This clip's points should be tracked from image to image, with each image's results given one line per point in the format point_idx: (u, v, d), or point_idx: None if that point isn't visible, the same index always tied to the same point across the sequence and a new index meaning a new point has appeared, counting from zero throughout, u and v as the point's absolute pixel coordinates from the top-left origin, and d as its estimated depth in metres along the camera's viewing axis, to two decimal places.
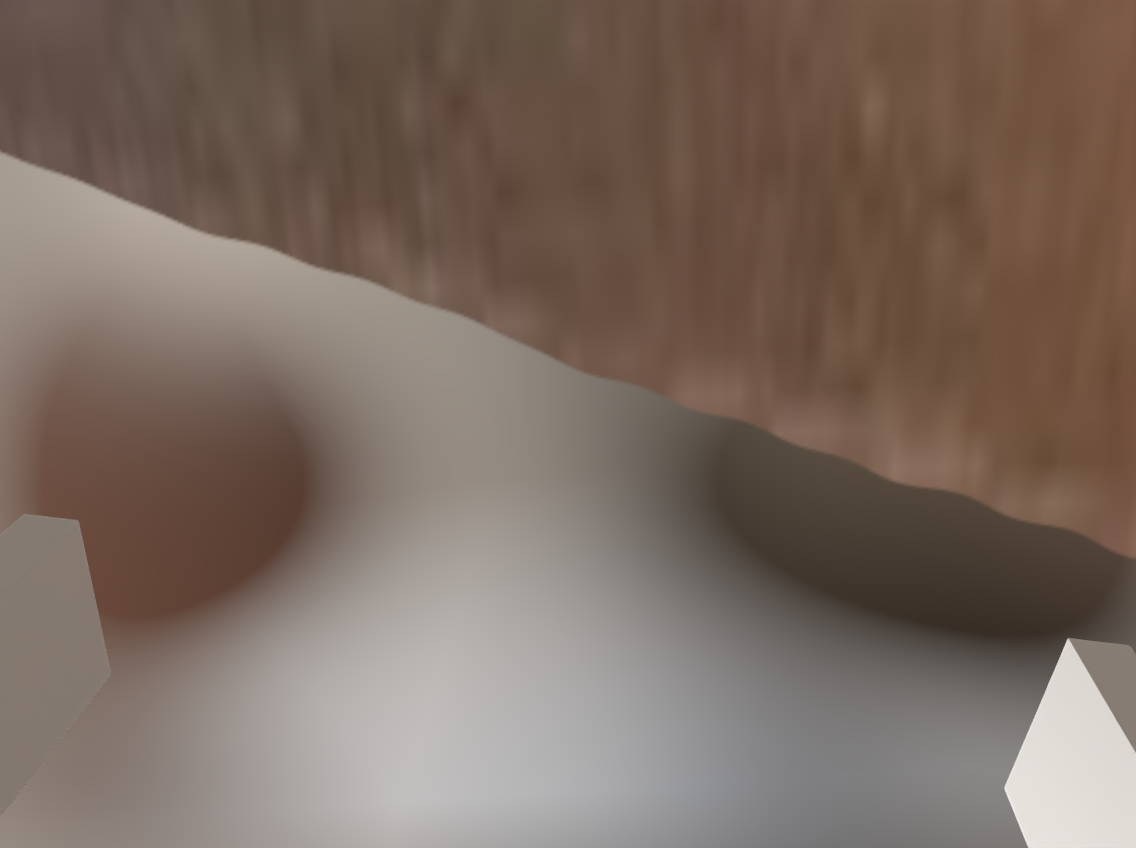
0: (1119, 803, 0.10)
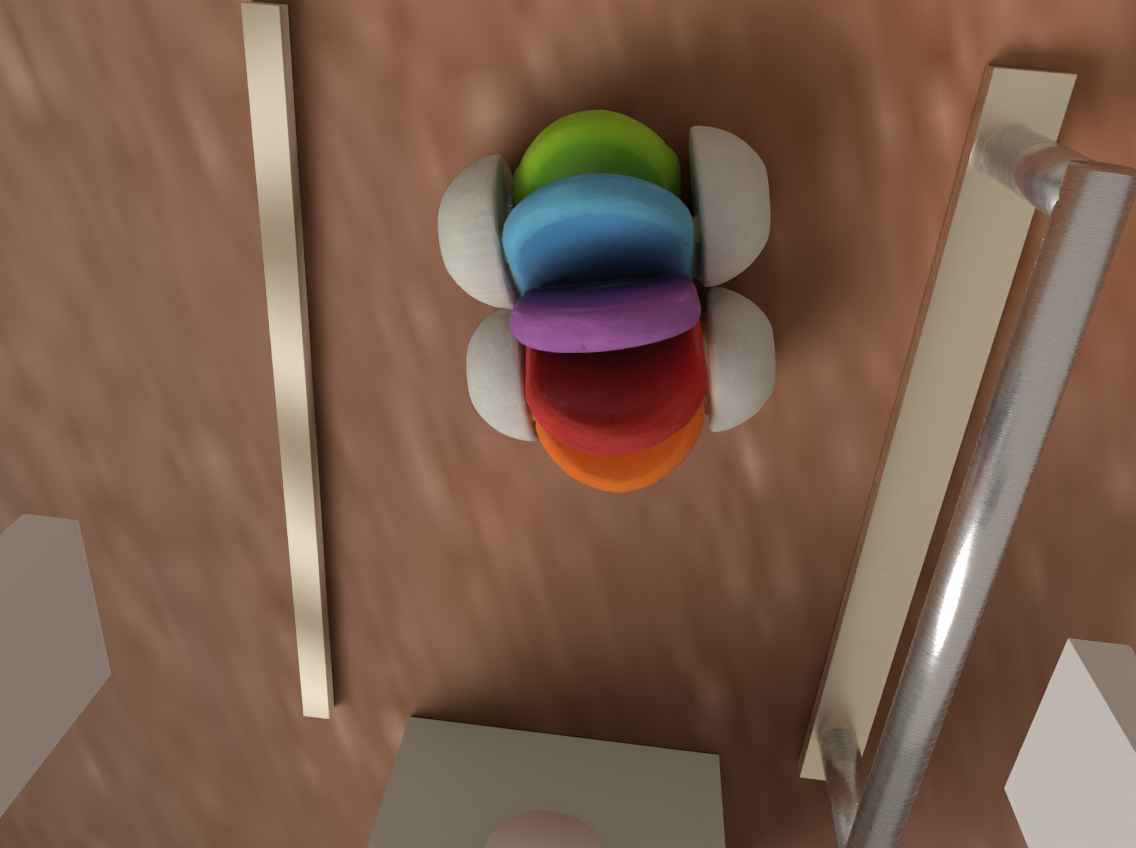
0: (1119, 803, 0.10)
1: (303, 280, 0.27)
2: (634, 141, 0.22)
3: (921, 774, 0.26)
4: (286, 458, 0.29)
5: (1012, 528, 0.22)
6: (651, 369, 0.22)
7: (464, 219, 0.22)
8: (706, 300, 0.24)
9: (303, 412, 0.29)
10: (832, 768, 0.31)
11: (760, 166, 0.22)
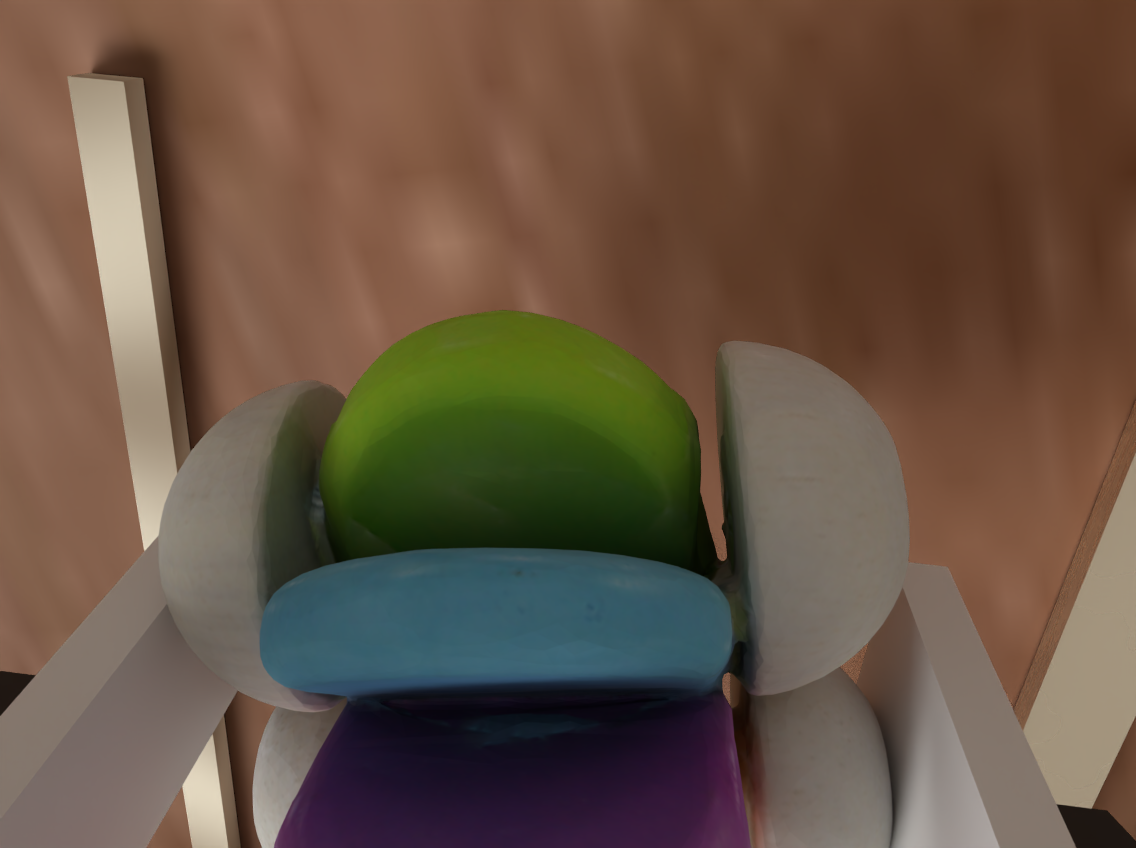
0: (915, 697, 0.11)
1: None
2: (591, 402, 0.09)
3: None
4: None
5: None
6: None
7: (192, 564, 0.10)
8: (748, 693, 0.11)
9: None
10: None
11: (889, 456, 0.09)
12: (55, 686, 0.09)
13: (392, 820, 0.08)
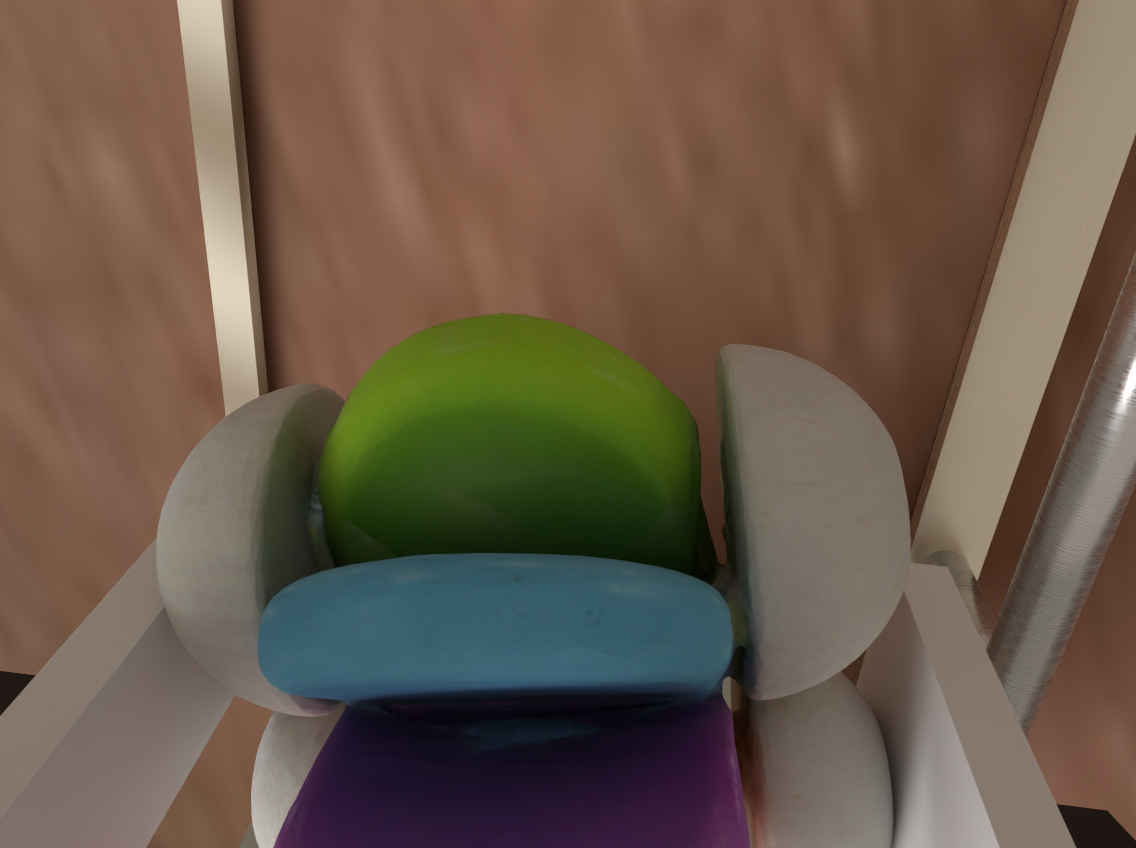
0: (915, 697, 0.11)
1: None
2: (590, 406, 0.09)
3: (1105, 548, 0.18)
4: (202, 151, 0.21)
5: None
6: None
7: (190, 569, 0.09)
8: (749, 698, 0.11)
9: (222, 75, 0.21)
10: None
11: (890, 460, 0.09)
12: (55, 686, 0.09)
13: (391, 826, 0.08)
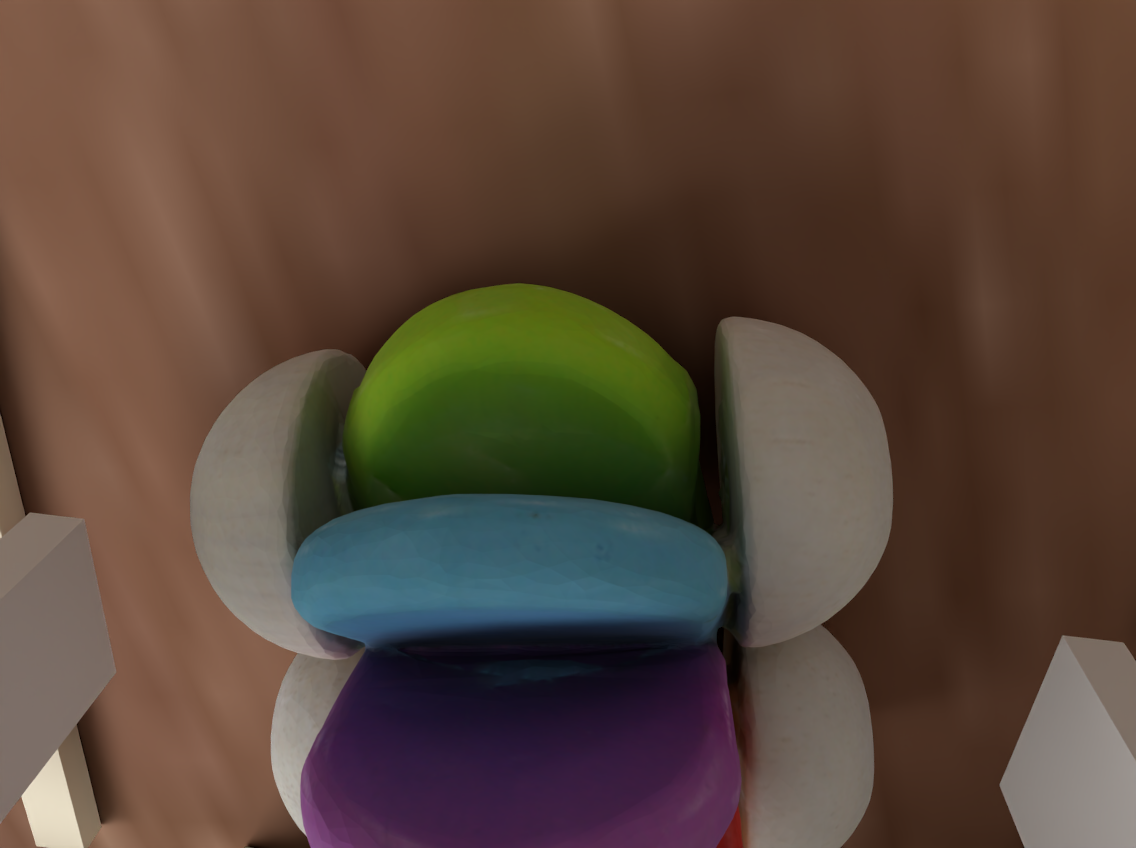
0: (1112, 799, 0.10)
1: None
2: (599, 368, 0.10)
3: None
4: None
5: None
6: None
7: (225, 515, 0.10)
8: (741, 650, 0.12)
9: None
10: None
11: (876, 424, 0.10)
12: None
13: (412, 748, 0.09)
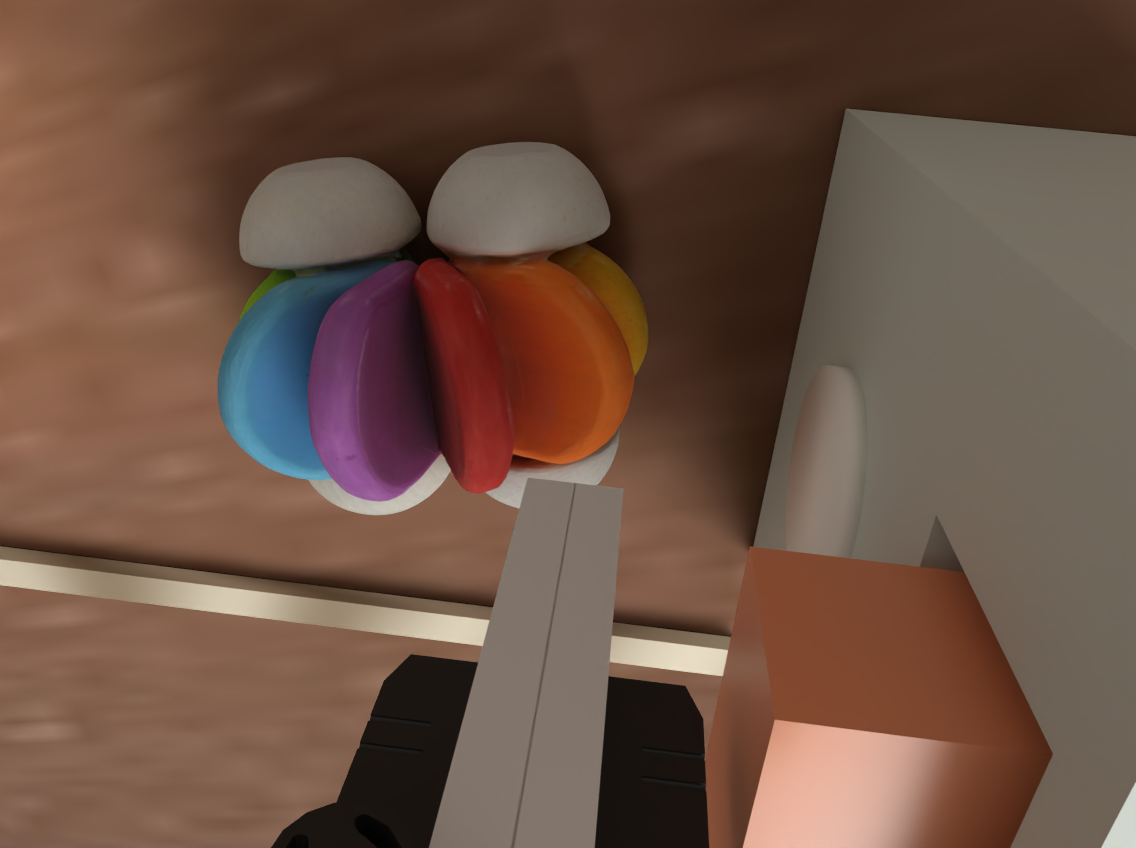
0: None
1: (156, 570, 0.27)
2: None
3: None
4: (347, 623, 0.27)
5: None
6: (435, 350, 0.18)
7: (331, 497, 0.22)
8: None
9: (289, 598, 0.27)
10: None
11: (263, 181, 0.19)
12: (504, 666, 0.10)
13: None
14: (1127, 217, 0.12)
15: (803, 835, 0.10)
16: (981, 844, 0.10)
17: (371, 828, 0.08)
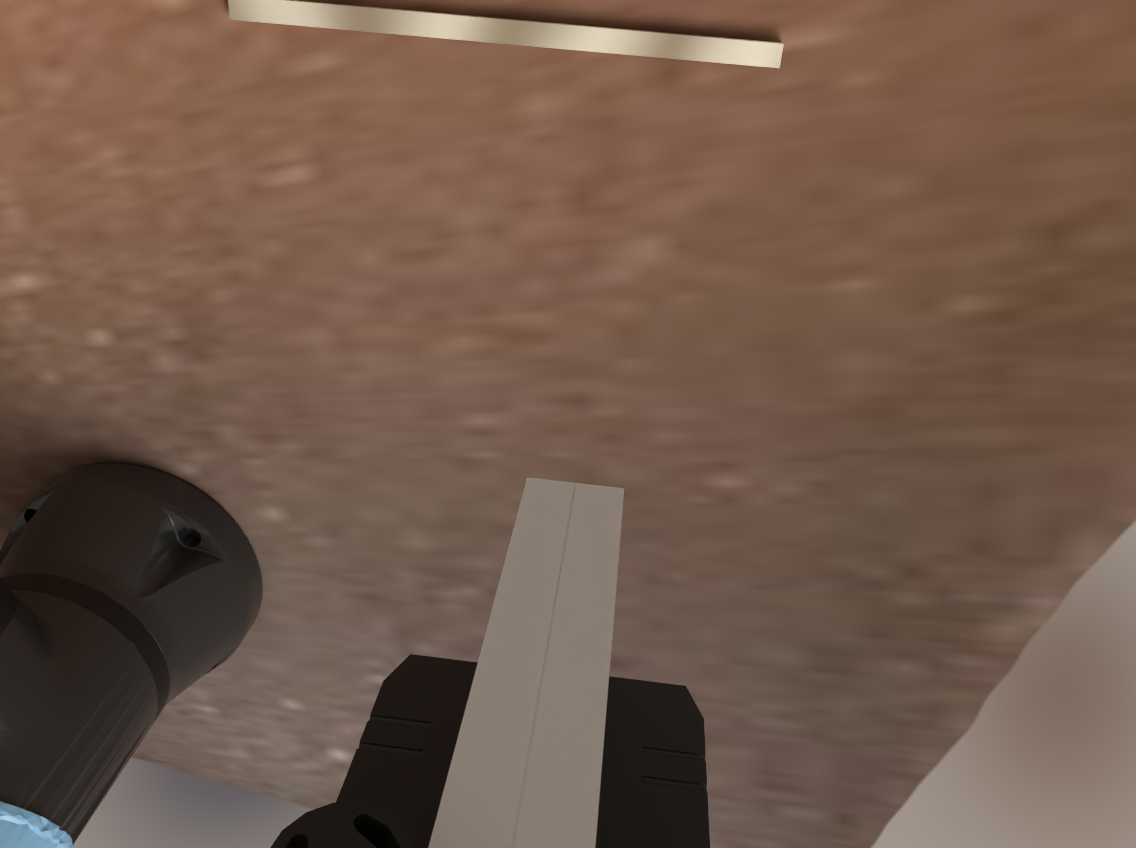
0: None
1: (392, 9, 0.41)
2: None
3: None
4: (522, 40, 0.41)
5: None
6: None
7: None
8: None
9: (484, 21, 0.40)
10: None
11: None
12: (503, 666, 0.10)
13: None
14: None
15: None
16: None
17: (371, 828, 0.08)
